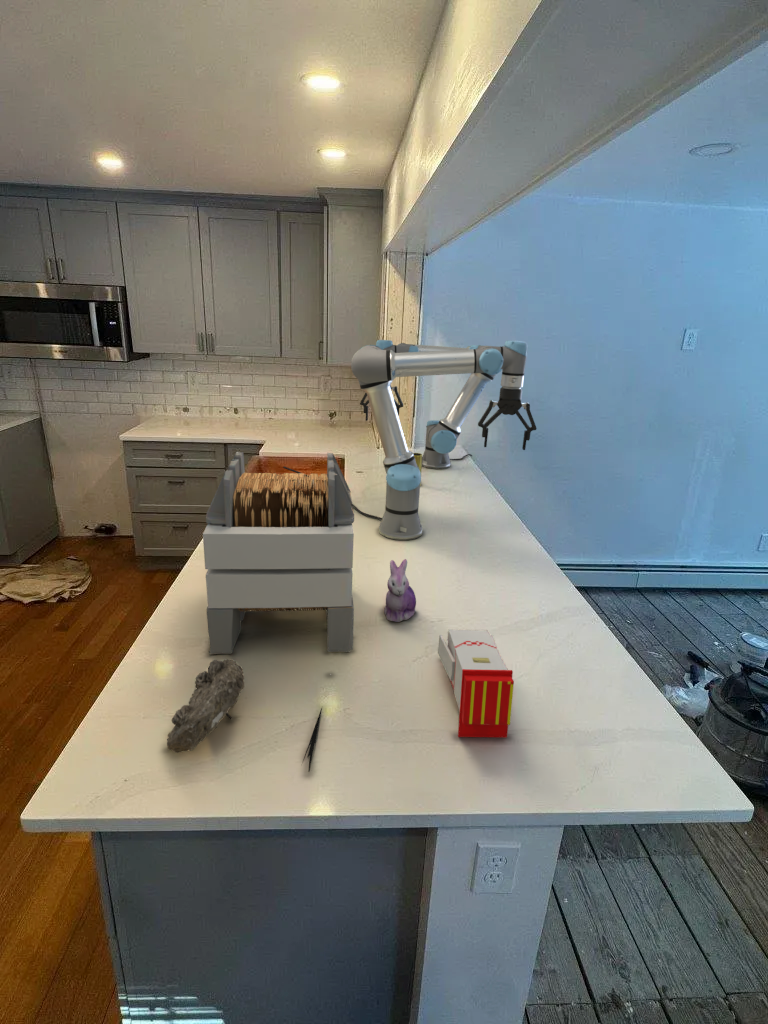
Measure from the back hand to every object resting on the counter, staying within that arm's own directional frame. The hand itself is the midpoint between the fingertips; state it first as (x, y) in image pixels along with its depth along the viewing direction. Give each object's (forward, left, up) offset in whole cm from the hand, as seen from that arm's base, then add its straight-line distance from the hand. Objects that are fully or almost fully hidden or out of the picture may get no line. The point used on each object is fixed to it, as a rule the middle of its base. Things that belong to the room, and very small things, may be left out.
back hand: (381, 421), depth 267 cm
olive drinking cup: (+14, +22, -24) cm, 36 cm away
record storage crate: (+139, +25, -24) cm, 144 cm away
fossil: (+178, +30, -24) cm, 182 cm away
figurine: (+126, +51, -24) cm, 138 cm away
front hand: (+49, +64, +5) cm, 81 cm away
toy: (+151, +74, -24) cm, 170 cm away
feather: (+170, +49, -24) cm, 179 cm away
